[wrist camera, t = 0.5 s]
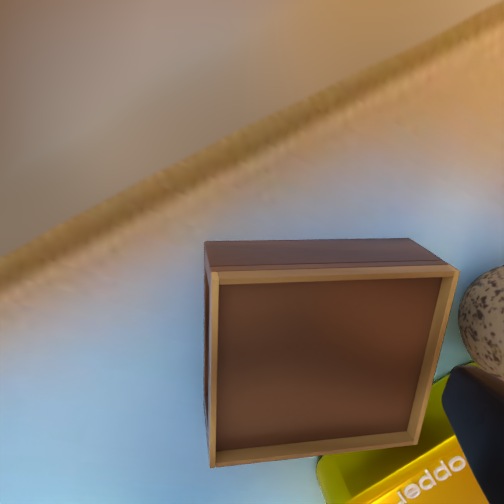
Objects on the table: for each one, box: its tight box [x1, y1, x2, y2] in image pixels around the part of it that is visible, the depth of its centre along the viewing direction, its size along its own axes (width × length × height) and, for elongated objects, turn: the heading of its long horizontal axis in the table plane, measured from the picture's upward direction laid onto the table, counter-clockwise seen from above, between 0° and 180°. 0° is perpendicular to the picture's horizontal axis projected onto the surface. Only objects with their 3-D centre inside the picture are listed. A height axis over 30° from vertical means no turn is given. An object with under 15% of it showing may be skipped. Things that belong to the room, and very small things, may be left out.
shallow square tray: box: [204, 238, 460, 468], centre depth 23 cm, size 11×12×5 cm
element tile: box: [316, 362, 489, 504], centre depth 30 cm, size 15×15×5 cm
